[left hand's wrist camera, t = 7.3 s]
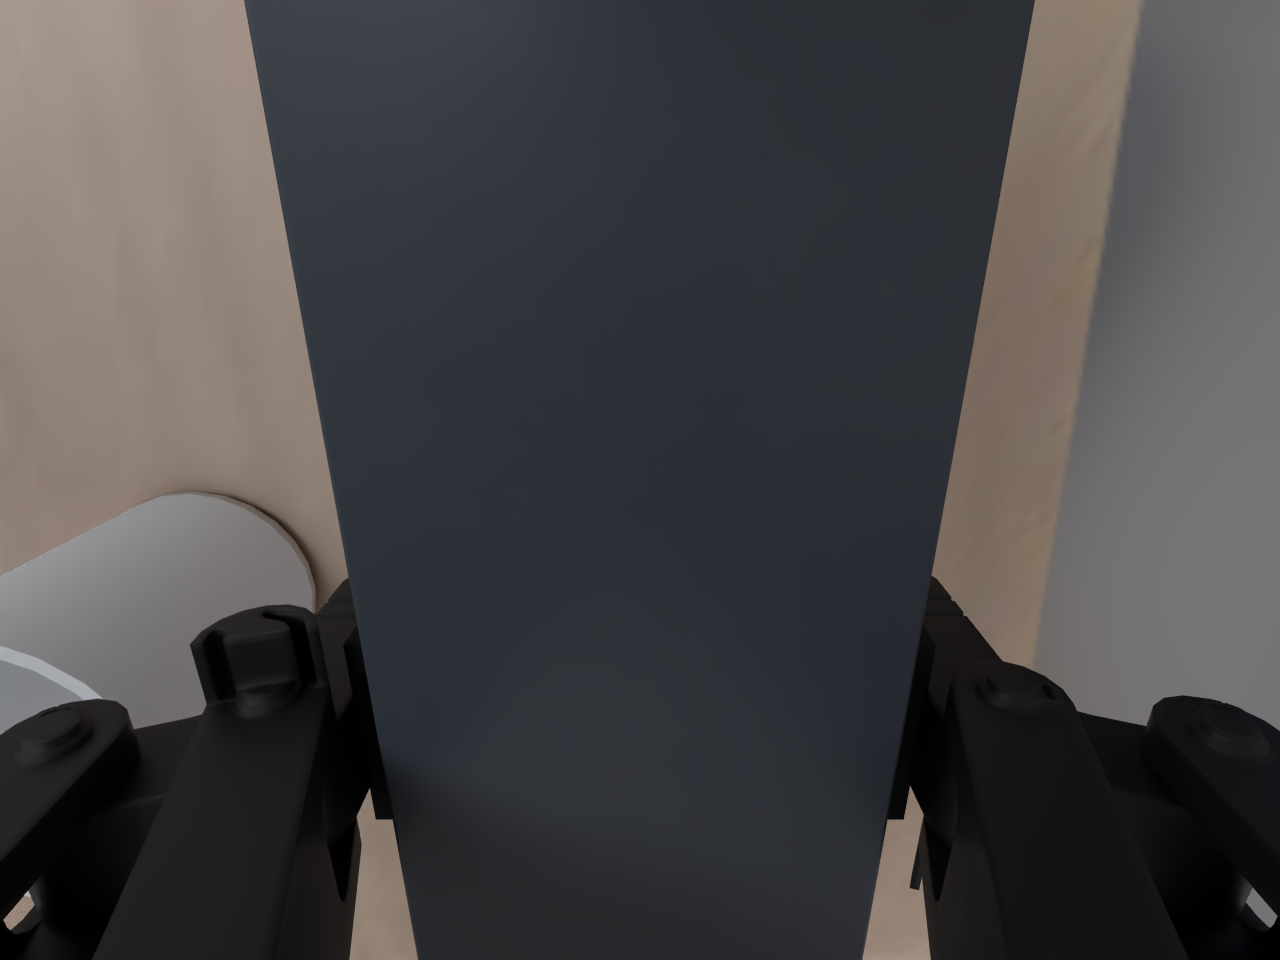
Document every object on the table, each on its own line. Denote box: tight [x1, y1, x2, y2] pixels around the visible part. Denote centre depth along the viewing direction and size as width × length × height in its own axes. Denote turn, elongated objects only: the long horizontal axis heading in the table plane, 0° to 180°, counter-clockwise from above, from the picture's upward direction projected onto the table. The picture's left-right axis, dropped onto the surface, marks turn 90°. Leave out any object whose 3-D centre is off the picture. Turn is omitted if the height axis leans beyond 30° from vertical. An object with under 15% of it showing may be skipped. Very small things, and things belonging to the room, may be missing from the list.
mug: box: [0, 491, 315, 897], centre depth 23 cm, size 11×9×10 cm
